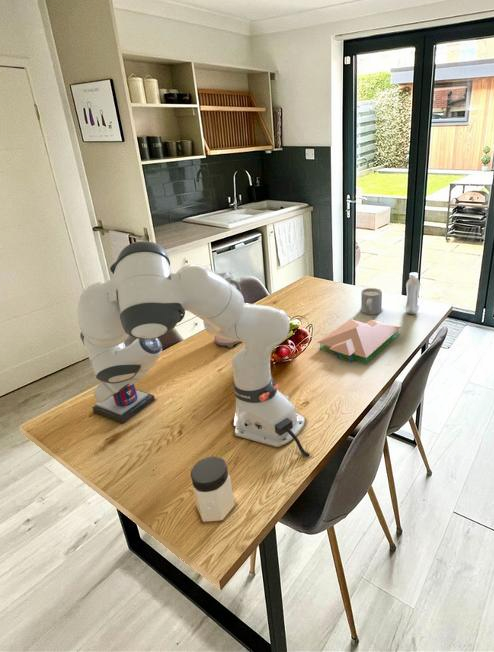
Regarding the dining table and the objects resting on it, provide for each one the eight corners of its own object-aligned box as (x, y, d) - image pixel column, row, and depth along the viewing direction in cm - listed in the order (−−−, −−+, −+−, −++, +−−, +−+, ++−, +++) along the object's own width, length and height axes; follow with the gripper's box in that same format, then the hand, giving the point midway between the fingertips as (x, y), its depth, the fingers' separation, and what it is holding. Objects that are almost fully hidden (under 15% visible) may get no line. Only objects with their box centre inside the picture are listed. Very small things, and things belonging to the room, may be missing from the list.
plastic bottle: (403, 309, 197) (405, 271, 189) (417, 309, 196) (420, 271, 188) (404, 315, 191) (406, 275, 184) (419, 315, 190) (421, 276, 183)
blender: (209, 344, 171) (197, 273, 159) (228, 332, 181) (219, 265, 169) (237, 352, 164) (227, 279, 152) (255, 339, 174) (248, 270, 161)
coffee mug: (366, 304, 204) (366, 286, 201) (384, 308, 200) (384, 289, 196) (355, 314, 194) (355, 295, 190) (374, 318, 189) (374, 299, 185)
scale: (155, 400, 136) (153, 393, 135) (123, 423, 125) (121, 416, 124) (126, 390, 142) (124, 383, 141) (93, 412, 131) (91, 405, 130)
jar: (193, 523, 92) (184, 485, 87) (200, 494, 99) (193, 457, 94) (232, 520, 92) (225, 482, 87) (236, 491, 100) (231, 455, 95)
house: (313, 352, 162) (312, 334, 159) (355, 322, 186) (355, 306, 183) (362, 368, 149) (362, 349, 146) (400, 334, 174) (401, 317, 171)
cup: (122, 409, 127) (117, 391, 125) (106, 398, 133) (101, 381, 130) (141, 398, 132) (137, 381, 130) (125, 388, 138) (120, 372, 135)
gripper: (151, 345, 132) (137, 364, 139) (97, 378, 115) (84, 399, 123) (164, 359, 132) (149, 377, 139) (112, 394, 115) (98, 413, 123)
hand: (118, 388), depth 131 cm, fingers closed on cup, 6 cm apart
